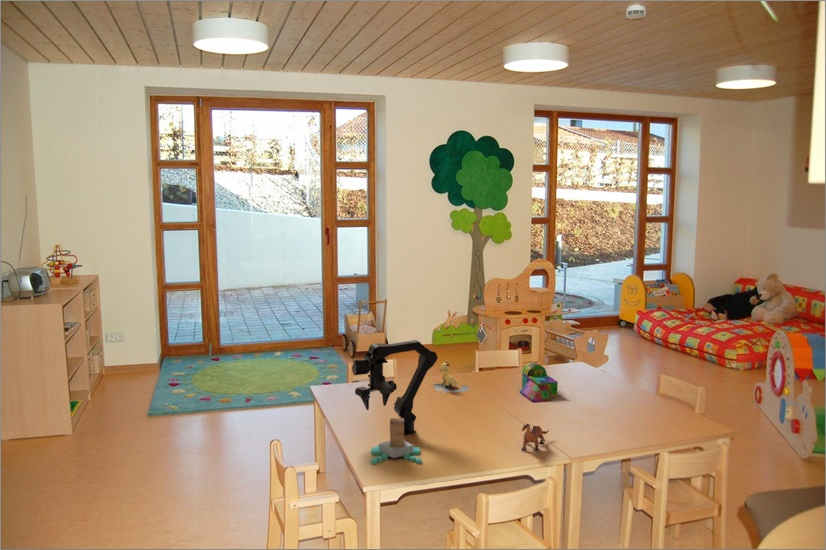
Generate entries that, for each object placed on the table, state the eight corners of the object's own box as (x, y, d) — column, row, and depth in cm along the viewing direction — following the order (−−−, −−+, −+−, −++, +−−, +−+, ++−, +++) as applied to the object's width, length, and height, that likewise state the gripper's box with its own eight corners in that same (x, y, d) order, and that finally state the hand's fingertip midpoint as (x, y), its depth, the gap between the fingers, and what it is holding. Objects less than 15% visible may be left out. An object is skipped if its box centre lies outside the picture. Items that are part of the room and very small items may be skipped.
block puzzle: (512, 388, 362) (513, 363, 360) (541, 386, 366) (542, 361, 365) (531, 402, 338) (532, 375, 336) (561, 400, 342) (563, 374, 341)
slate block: (398, 444, 277) (398, 437, 276) (413, 452, 269) (413, 445, 269) (378, 450, 271) (378, 443, 270) (393, 458, 263) (393, 451, 263)
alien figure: (421, 465, 262) (418, 446, 281) (421, 460, 261) (418, 441, 281) (371, 466, 261) (371, 446, 280) (371, 460, 260) (371, 441, 280)
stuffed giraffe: (430, 385, 365) (431, 357, 363) (460, 383, 371) (462, 356, 368) (439, 395, 350) (441, 366, 348) (471, 393, 356) (473, 364, 353)
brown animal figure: (512, 459, 266) (514, 424, 264) (531, 435, 293) (533, 402, 291) (533, 463, 263) (534, 427, 261) (550, 438, 290) (552, 405, 288)
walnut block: (391, 441, 272) (390, 418, 271) (404, 441, 272) (403, 418, 271) (390, 446, 267) (389, 423, 265) (403, 446, 267) (403, 423, 265)
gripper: (369, 381, 273) (369, 417, 275) (404, 373, 285) (404, 408, 287) (354, 375, 282) (354, 410, 284) (389, 368, 293) (388, 401, 295)
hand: (376, 407), depth 287 cm, fingers open, 9 cm apart
